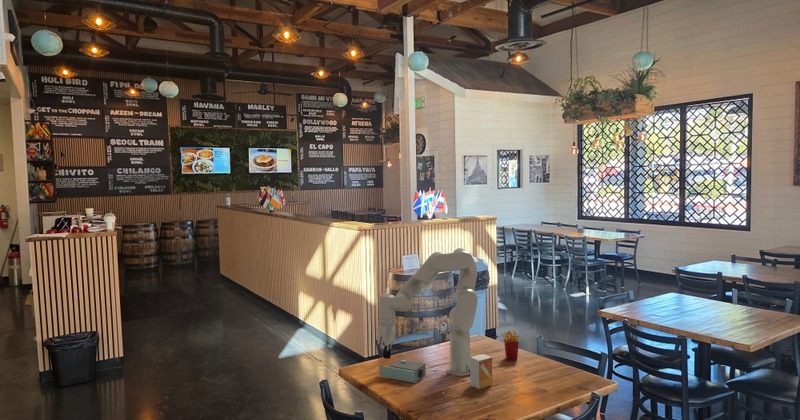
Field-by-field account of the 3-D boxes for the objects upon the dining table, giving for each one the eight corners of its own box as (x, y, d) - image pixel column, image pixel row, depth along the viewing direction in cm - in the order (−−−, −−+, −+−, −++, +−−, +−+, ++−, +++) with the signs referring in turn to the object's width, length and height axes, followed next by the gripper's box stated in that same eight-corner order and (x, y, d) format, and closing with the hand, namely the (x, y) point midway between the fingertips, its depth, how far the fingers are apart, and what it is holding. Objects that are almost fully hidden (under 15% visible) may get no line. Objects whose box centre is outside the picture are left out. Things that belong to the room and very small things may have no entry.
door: (416, 382, 241) (416, 371, 240) (415, 383, 240) (415, 371, 240) (380, 375, 250) (380, 365, 250) (379, 376, 249) (379, 365, 249)
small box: (479, 389, 232) (479, 360, 231) (469, 385, 237) (469, 357, 236) (492, 385, 236) (492, 357, 235) (483, 381, 241) (482, 353, 241)
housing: (427, 376, 249) (427, 361, 249) (418, 383, 241) (417, 368, 240) (399, 371, 257) (399, 357, 256) (389, 378, 248) (389, 364, 247)
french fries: (519, 361, 267) (519, 332, 266) (503, 361, 267) (502, 332, 266) (515, 355, 275) (515, 327, 275) (500, 356, 275) (499, 327, 275)
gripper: (388, 316, 259) (388, 352, 260) (372, 323, 246) (372, 361, 247) (401, 317, 255) (401, 354, 256) (386, 325, 242) (386, 364, 243)
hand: (387, 358), depth 252 cm, fingers closed
